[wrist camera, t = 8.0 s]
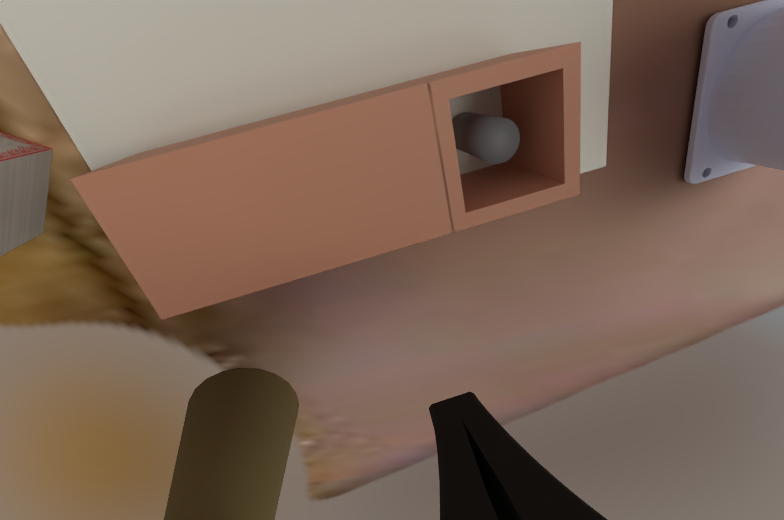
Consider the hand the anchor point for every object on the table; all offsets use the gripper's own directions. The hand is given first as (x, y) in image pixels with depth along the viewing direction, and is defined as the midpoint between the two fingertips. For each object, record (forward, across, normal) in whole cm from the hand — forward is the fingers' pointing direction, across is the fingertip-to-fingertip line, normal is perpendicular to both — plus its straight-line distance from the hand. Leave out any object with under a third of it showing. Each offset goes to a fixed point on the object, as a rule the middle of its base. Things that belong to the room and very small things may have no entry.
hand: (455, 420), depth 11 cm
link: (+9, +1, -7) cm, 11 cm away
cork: (+10, +10, +6) cm, 15 cm away
